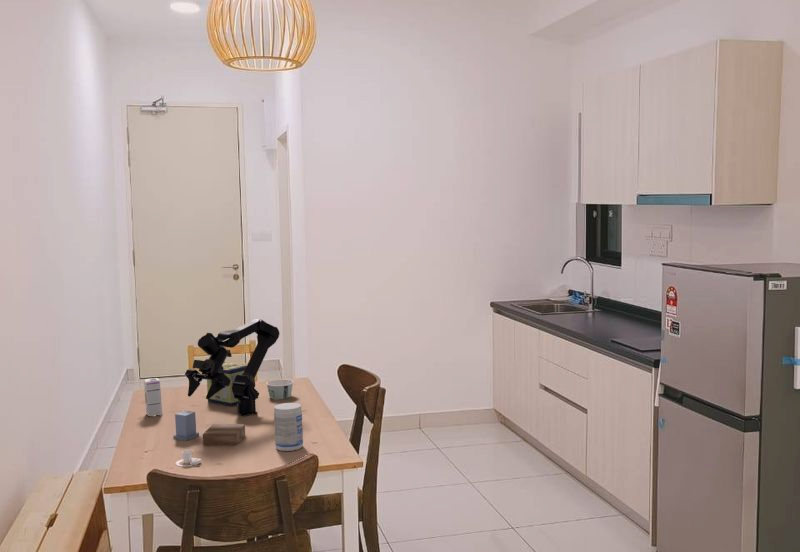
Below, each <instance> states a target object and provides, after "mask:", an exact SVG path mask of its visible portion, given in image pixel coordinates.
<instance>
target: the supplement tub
mask: <svg viewBox="0 0 800 552" xmlns="http://www.w3.org/2000/svg"><path fill="white" fill-rule="evenodd" d="M273 417H274V418H273V422H274V437H275V438H274V442H275V444H274V447H275V448H276V450H278V451H281V452H292V451H297V450H300V449H302V447H303V446H304V437H303V436H304V432H303V409H302V404H300V403H297V402H283V403H279V404H278V403H277V404H276V405H274V407H273Z"/></svg>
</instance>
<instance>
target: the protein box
mask: <svg viewBox="0 0 800 552" xmlns="http://www.w3.org/2000/svg"><path fill="white" fill-rule="evenodd" d="M246 366H247V365H245V364H244V365H243V364H237V363H236V364H235V363H231V362H230V363H229V362H225V361H224V363H223V365H222V367H223V370H220V371H219V373H224V374H225V375H226V376H227V377H228V378H230V384H229V386H225V388H223V389H221V390H220V391H218V392H217V393H216V394H214V395H213V396H212V397H211V398H209V399H207V402H209V403H213V404H217V405H222V406H227V407H233V406H237V403H238V399H237V398H235V397H234V394H233V392H232V385H233V384H232V383H233V381H234V380H235V377H236V375H242V374H243V373H244V371H245V369H246ZM211 384H212V383H211V380H206V387H207V389H206V390H207V393H208V391H209V389H210V387H211Z"/></svg>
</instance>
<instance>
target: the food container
mask: <svg viewBox="0 0 800 552" xmlns="http://www.w3.org/2000/svg"><path fill="white" fill-rule="evenodd" d="M265 385H267V392H268V395H269V396H268V397H269V399H270V398H272V399H271V400H274V399H282V400H285V399H284V398H288V397H290V396H292V391H293V385H294V380H292V379H286V378H285V379H283V378H282V379H281V378H280V379H279V378H278V379H273V380H269V381H267V382H266V383H265ZM290 398H291V397H290ZM288 399H289V398H288Z"/></svg>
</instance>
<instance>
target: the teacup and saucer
mask: <svg viewBox="0 0 800 552" xmlns="http://www.w3.org/2000/svg"><path fill="white" fill-rule="evenodd" d="M181 456H182V458H181V459H179V460H177V461H176V462H175V465H176V466H178V467H182V468H183V467H193V466H196V465H199V464H201V462H202V459H201V458H198V457H197V458H195V457H193V450H190V449H187V450H186V449H185V450H183V451H182V452H181ZM181 462H184V465H182V464H180V463H181ZM185 464H186V465H185ZM188 464H189V465H188Z"/></svg>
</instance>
